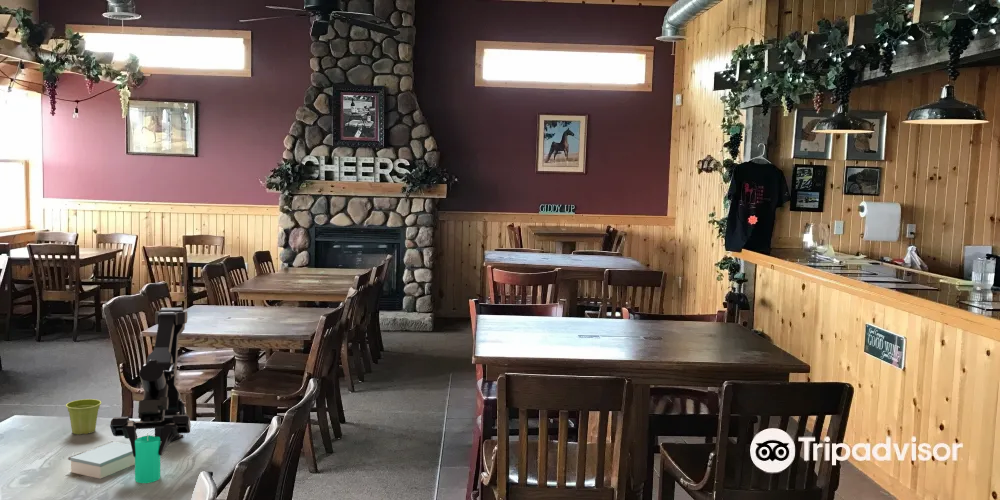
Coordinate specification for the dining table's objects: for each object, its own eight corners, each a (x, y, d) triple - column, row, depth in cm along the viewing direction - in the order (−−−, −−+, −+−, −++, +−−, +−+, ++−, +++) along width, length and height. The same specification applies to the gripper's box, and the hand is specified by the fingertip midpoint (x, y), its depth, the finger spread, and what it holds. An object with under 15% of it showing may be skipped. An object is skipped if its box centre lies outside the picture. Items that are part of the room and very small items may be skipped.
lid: (111, 443, 213) (111, 441, 213) (142, 449, 210) (142, 447, 210) (68, 460, 200) (68, 457, 200) (99, 466, 197) (99, 463, 196)
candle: (150, 484, 194) (150, 438, 193) (129, 481, 196) (129, 435, 195) (165, 475, 200) (165, 430, 199) (145, 473, 201) (144, 428, 200)
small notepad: (114, 455, 213) (114, 444, 213) (142, 461, 210) (142, 450, 210) (71, 472, 200) (71, 461, 200) (100, 478, 197) (100, 467, 197)
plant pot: (108, 429, 234) (108, 401, 234) (82, 438, 226) (82, 409, 225) (85, 425, 237) (84, 397, 237) (58, 433, 229) (58, 405, 228)
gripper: (111, 386, 197) (101, 443, 188) (189, 384, 202) (183, 439, 193) (118, 408, 206) (109, 463, 196) (193, 405, 210) (187, 458, 201)
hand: (147, 455), depth 196 cm, fingers closed on candle, 6 cm apart
